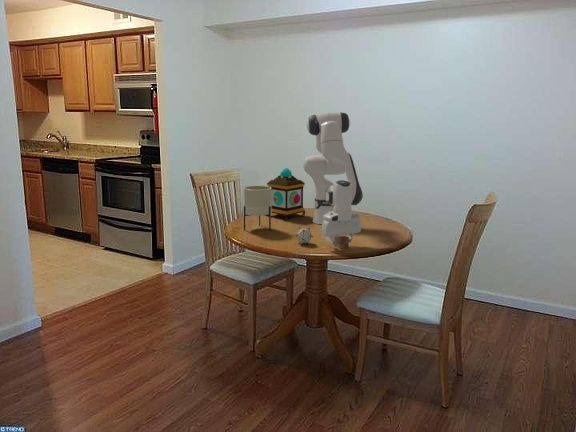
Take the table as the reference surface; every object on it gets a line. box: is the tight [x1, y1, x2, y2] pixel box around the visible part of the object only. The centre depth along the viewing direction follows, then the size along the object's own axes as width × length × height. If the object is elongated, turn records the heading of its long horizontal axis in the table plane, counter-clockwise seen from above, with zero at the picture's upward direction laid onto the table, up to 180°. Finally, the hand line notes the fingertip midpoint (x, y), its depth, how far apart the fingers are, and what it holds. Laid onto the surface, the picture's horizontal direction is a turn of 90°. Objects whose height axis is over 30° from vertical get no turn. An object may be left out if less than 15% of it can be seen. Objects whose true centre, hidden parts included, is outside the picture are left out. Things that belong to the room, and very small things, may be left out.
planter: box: [243, 185, 273, 232], centre depth 255 cm, size 15×16×23 cm
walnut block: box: [333, 234, 350, 249], centre depth 223 cm, size 5×5×5 cm
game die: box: [296, 226, 314, 245], centre depth 228 cm, size 9×8×10 cm
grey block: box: [324, 235, 340, 243], centre depth 235 cm, size 5×5×5 cm
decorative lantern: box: [266, 167, 306, 221], centre depth 286 cm, size 20×20×30 cm
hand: (341, 243), depth 224 cm, fingers open, 8 cm apart
